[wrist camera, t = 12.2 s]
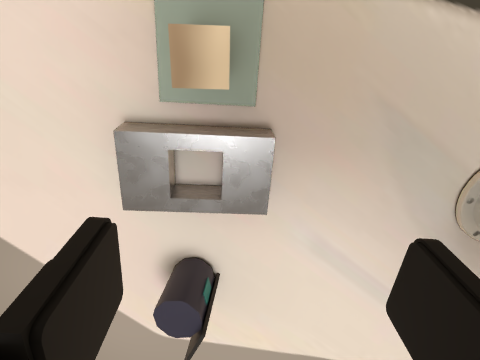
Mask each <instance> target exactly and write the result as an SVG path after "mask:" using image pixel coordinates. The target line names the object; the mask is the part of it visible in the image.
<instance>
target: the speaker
mask: <svg viewBox="0 0 480 360" xmlns="http://www.w3.org/2000/svg"><path fill="white" fill-rule="evenodd" d="M219 276H220V274H218V273H217V275H216V276H215V278H214V275H213V271H212V268H211V267H210V266H209V265H208V264H206V263H205V262H204V261H203V260H201V259H198V258H188V259H183V260H182V261H180V262H179V263H178V264H177V265H176V266H175V268H174V270H173V272H172V274H171V276H170V278H169V280H168V282H167V284H166V287H165V289H164V291H163V293H162V295H161V297H160V299H159V301H158V303H157V305H156V308H155V310H154V314H153V316H154V319H155V322H156V325H157V327H158V328H160V329H161V330H162V331H164V332H165V333H166V334H167V335H169V336H172V337H175V338H184V337H191V340H190V343H189V347H188V350H187V353H186V357H185V360H190V359H191V358H192V356H193V354H194V353H195V351H196V350H197V348H198V346H199V345H200V343H201V342H202V340H203V339H204V337H205V334H206V330H207V326H208V322H209V318H210V313H211V309H212V305H213V301H214V297H215V293H216V289H217V285H218V281H219Z"/></svg>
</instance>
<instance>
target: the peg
mask: <svg viewBox="0 0 480 360" xmlns="http://www.w3.org/2000/svg"><path fill="white" fill-rule="evenodd" d="M168 31H169V47H170V64H171V80H172V88H191V89H226V90H229V68H230V26H218V25H193V24H168Z"/></svg>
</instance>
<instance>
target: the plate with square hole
mask: <svg viewBox="0 0 480 360" xmlns="http://www.w3.org/2000/svg"><path fill="white" fill-rule="evenodd" d="M114 139H115V147H116V156H117V164H118V172H119V180H120V188H121V197H122V205H123V210H135V211H167V212H199V213H231V214H263V215H267V209H268V200H269V191H270V182H271V173H272V164H273V156H274V147H275V136H274V134H273V132H272V130H271V129H260V128H240V127H219V126H198V125H178V124H157V123H136V122H124V123H123V124H121V125H120V126H119V127H118V128H116V129H115V130H114ZM174 150H191V151H214V152H223V174H222V186H209V185H181V184H175V163H174Z"/></svg>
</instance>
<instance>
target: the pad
mask: <svg viewBox="0 0 480 360" xmlns="http://www.w3.org/2000/svg"><path fill="white" fill-rule="evenodd" d="M154 4H155V23H156V42H157V61H158V80H159V99H160V102H179V103H198V104H217V105H236V106H255V105H256V92H257V80H258V67H259V55H260V42H261V30H262V17H263V5H264V0H154ZM168 24H193V25H218V26H230V68H229V90H226V89H191V88H172V80H171V64H170V47H169V31H168Z"/></svg>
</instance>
